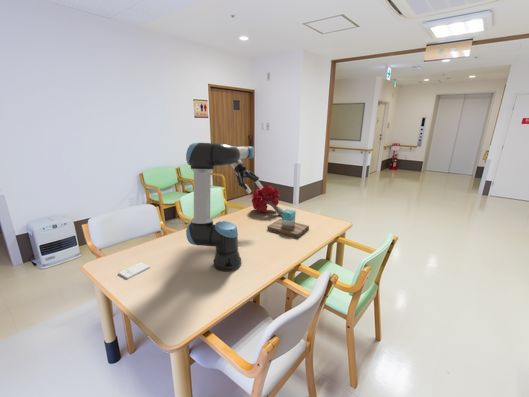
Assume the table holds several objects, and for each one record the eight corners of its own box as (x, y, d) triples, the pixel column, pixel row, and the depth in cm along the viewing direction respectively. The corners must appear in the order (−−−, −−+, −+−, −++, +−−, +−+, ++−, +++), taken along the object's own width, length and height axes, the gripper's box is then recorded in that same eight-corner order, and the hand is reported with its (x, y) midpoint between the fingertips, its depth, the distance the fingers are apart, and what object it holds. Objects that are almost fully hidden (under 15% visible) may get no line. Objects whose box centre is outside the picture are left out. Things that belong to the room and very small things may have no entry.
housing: (290, 228, 184) (290, 213, 181) (281, 226, 188) (282, 211, 184) (294, 225, 190) (295, 211, 186) (286, 223, 193) (286, 209, 190)
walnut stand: (297, 238, 176) (297, 234, 175) (267, 230, 189) (267, 226, 188) (308, 229, 190) (309, 225, 189) (280, 222, 203) (280, 218, 202)
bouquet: (283, 217, 232) (258, 196, 241) (295, 198, 218) (268, 176, 227) (269, 226, 215) (243, 203, 224) (281, 206, 202) (253, 182, 211)
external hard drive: (150, 269, 140) (127, 280, 130) (141, 264, 144) (118, 275, 134) (149, 266, 139) (127, 277, 129) (140, 261, 143) (118, 272, 133)
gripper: (246, 167, 194) (263, 189, 190) (223, 172, 174) (241, 198, 170) (252, 160, 189) (269, 183, 186) (229, 165, 170) (248, 191, 166)
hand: (256, 190), depth 178 cm, fingers open, 13 cm apart
